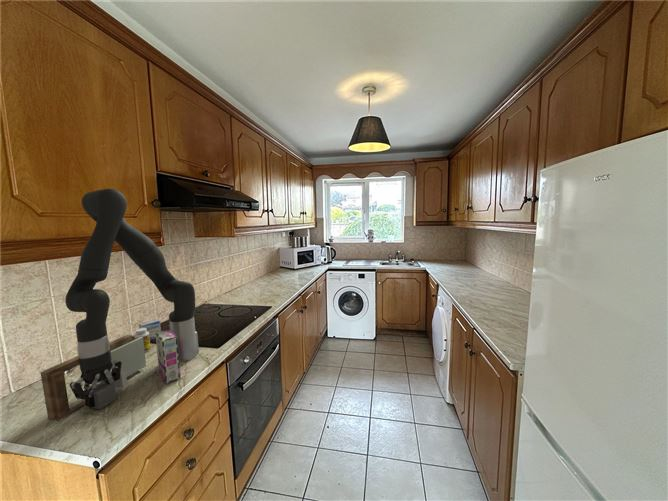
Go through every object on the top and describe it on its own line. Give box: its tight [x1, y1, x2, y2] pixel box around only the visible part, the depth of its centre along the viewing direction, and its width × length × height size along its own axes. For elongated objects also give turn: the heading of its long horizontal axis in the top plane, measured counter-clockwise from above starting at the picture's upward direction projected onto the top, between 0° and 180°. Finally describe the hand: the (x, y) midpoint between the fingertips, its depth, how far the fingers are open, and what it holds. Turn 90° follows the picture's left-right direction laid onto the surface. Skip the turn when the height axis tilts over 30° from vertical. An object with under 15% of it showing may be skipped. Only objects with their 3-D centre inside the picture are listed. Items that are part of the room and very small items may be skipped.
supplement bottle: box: [133, 328, 152, 353], centre depth 122 cm, size 6×6×10 cm
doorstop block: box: [92, 382, 117, 410], centre depth 87 cm, size 5×6×5 cm
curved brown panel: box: [40, 334, 141, 422], centre depth 92 cm, size 26×4×15 cm, turn 165°
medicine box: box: [138, 318, 162, 342], centre depth 135 cm, size 8×4×9 cm, turn 143°
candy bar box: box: [155, 328, 181, 384], centre depth 102 cm, size 11×5×16 cm, turn 45°
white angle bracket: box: [99, 337, 147, 389], centre depth 99 cm, size 16×8×12 cm, turn 165°
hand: (101, 401), depth 87 cm, fingers closed on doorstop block, 5 cm apart
